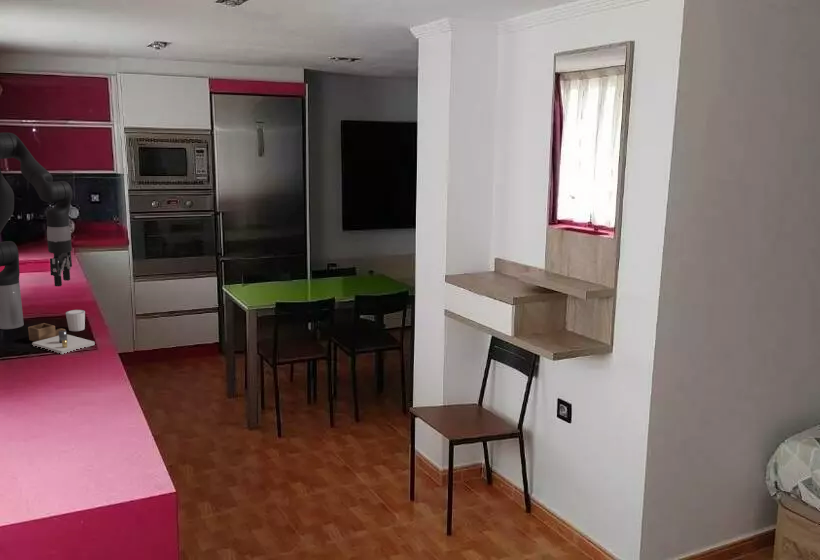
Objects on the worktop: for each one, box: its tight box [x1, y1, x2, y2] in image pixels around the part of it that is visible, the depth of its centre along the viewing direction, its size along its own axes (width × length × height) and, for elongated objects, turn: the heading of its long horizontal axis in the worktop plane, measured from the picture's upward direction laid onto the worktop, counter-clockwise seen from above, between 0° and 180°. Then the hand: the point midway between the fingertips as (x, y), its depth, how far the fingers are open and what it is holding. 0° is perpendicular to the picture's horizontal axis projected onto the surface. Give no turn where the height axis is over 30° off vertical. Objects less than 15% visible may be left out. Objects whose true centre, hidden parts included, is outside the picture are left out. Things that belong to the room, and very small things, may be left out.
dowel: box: [62, 340, 67, 348], centre depth 256 cm, size 2×2×2 cm
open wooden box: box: [27, 322, 66, 342], centre depth 270 cm, size 12×6×5 cm, turn 149°
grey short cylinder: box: [65, 309, 86, 332], centre depth 281 cm, size 7×7×7 cm
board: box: [31, 334, 96, 355], centre depth 262 cm, size 17×13×1 cm
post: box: [59, 329, 67, 343], centre depth 261 cm, size 3×3×4 cm
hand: (62, 283), depth 260 cm, fingers open, 8 cm apart
